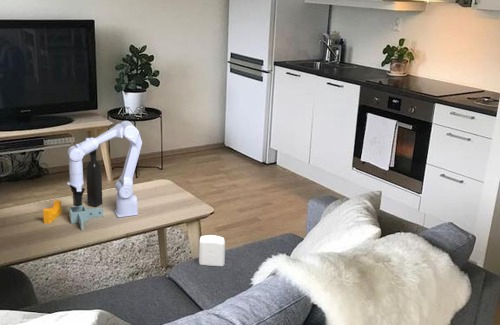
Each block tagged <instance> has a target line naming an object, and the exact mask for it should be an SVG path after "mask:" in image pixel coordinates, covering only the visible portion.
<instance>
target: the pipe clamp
mask: <svg viewBox="0 0 500 325" xmlns="http://www.w3.org/2000/svg"><path fill="white" fill-rule="evenodd" d="M62 212H63V211H62V200H57V199H55V200H54V201H53V205H52V206H51V207H49V208H44V209H43V210H42V213H43V214H42V215H43V224H48V225H49V224H50V223H52V222H53V221H54V220H55V219H57V218H58V217H60V215H61V214H63V213H62Z"/></svg>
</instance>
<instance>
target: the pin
mask: <svg viewBox="0 0 500 325" xmlns="http://www.w3.org/2000/svg"><path fill="white" fill-rule="evenodd" d="M72 204H73V207H75V206H83V199H82V200H81V203H76V202H75V198H74V194H73V193H72Z"/></svg>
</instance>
